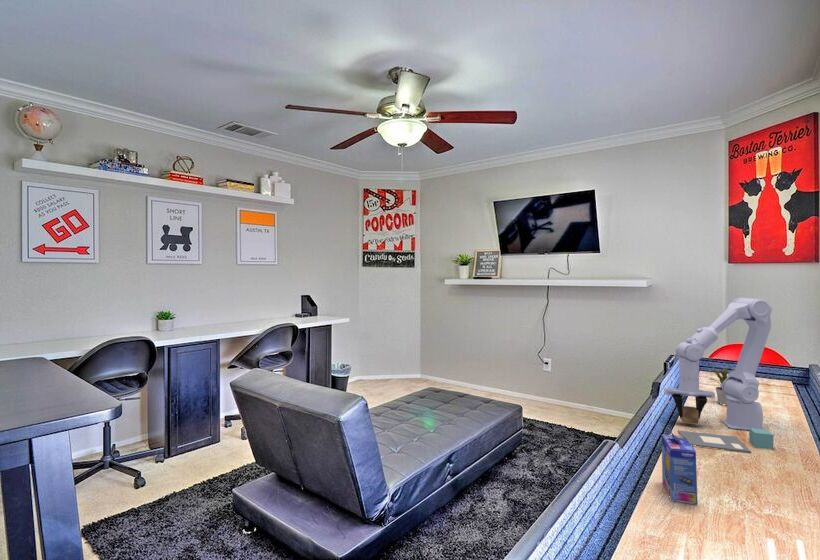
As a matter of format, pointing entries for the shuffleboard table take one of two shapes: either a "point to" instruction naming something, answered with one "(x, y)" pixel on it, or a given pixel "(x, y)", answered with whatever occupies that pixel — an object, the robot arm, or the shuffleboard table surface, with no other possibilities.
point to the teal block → (761, 438)
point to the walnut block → (689, 415)
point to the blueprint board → (715, 441)
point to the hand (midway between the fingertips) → (689, 417)
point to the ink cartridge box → (679, 468)
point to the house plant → (720, 393)
